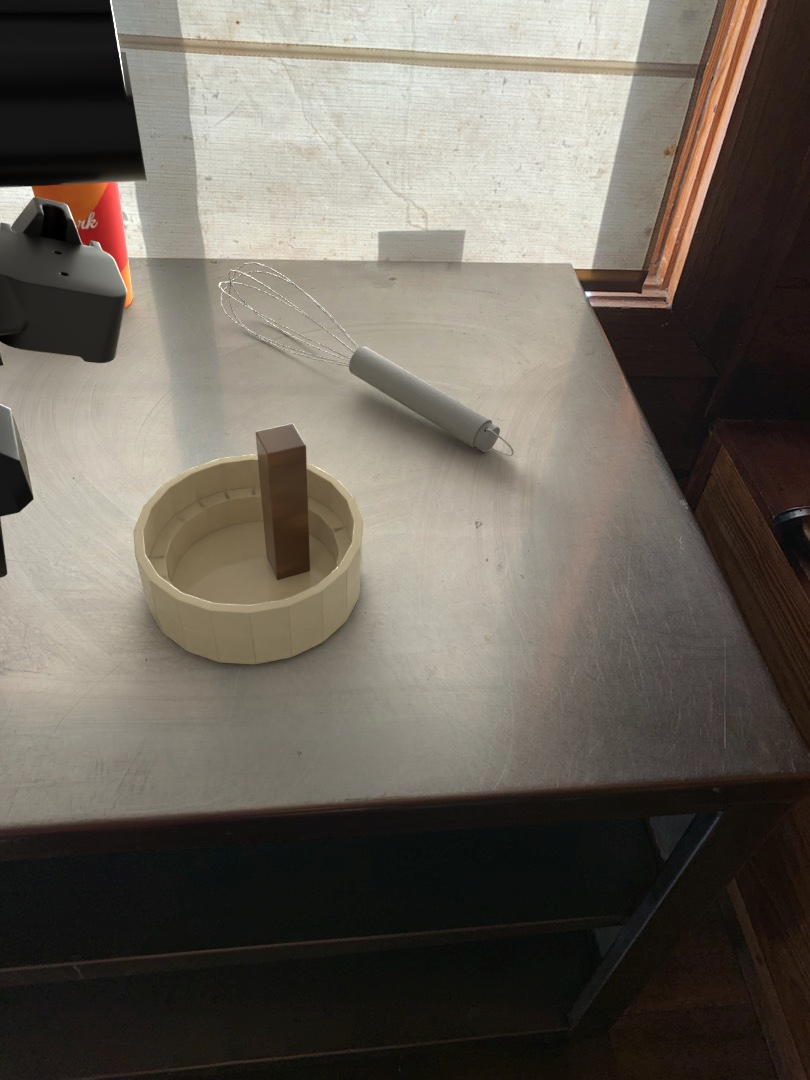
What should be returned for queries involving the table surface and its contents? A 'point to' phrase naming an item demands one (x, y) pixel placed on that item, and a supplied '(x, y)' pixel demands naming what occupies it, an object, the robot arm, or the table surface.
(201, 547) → the bowl
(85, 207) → the coffee cup
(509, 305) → the table surface
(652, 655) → the table surface
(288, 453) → the stir stick
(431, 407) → the kitchen whisk
